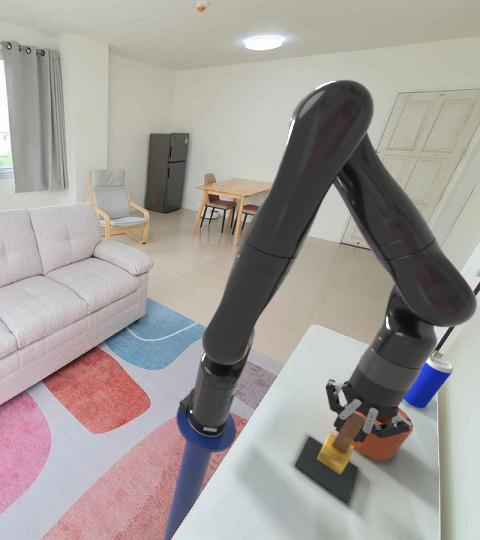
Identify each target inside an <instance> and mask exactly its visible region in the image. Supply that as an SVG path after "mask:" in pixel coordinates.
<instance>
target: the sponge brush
mask: <svg viewBox="0 0 480 540" xmlns="http://www.w3.org/2000/svg"><path fill="white" fill-rule="evenodd" d="M364 420H365V418H364V417H362V416H360V415H358V414H356V413H354V412H353V413H352V414H351V415H349V416H348V418H347V419H346V422H345V423H344V425H343V427H342V429H341V430H340V432H338V431H337V434H334V433H333V432H331V431H330V432H329V434H328V435H327V437H326V439H325V441H324V442H323V443H322V444H323V446H322V448H321V451H320V453H319V455H318V458H317V459H318V460H319V461H321V462H322V463H323V464H325V465H326V466H328V467H329V468H331V469H332V470H334V471H335V472H337V473H338V474H341V473H342V471H343V470H344V468H345V467H346V465H347V464H348V462H350V461H351V457H352V455H353V451H354V446H352V445H351V443H352V442H353V440H354V439H355V437H356V435H357V434H358V432H359V431H360V429H361V428H362V426H363V423H364Z"/></svg>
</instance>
